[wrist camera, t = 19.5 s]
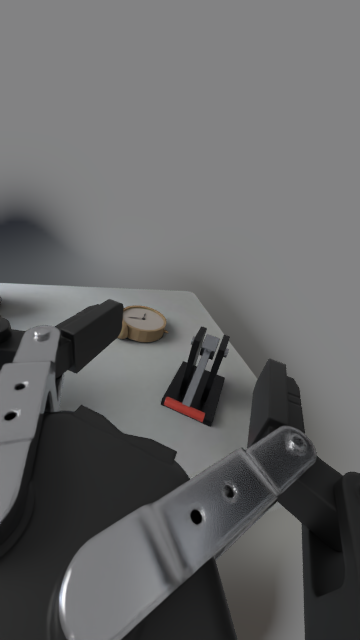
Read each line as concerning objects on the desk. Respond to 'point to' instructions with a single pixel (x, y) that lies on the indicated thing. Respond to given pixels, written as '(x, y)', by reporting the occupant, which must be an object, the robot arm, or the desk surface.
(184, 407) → the lever
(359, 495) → the robot arm
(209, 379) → the switch bracket
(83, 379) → the desk surface
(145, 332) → the alarm clock
